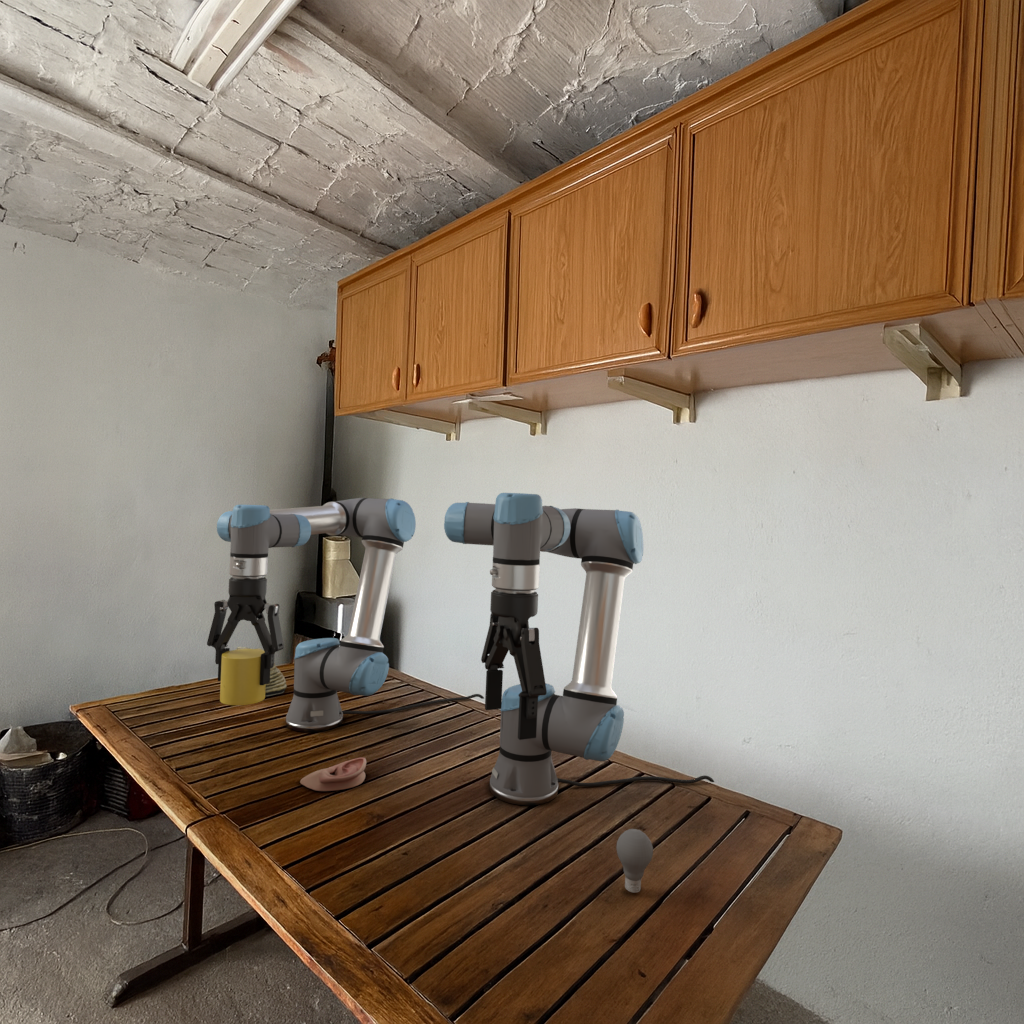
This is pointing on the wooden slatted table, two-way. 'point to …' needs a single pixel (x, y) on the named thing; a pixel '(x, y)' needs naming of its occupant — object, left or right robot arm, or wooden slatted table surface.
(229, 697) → the canister
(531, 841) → the wooden slatted table surface
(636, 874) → the light bulb
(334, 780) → the anatomical model
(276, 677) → the fossil
